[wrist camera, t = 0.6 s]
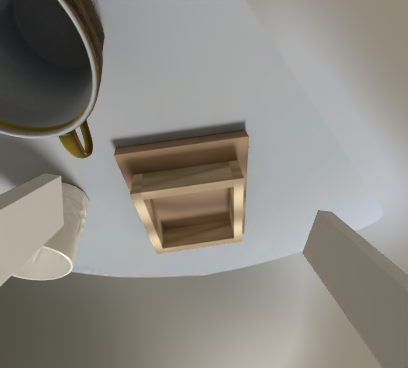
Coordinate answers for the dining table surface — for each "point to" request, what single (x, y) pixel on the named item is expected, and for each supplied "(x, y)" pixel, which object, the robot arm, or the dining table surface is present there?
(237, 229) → the tray
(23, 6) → the ceramic cup
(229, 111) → the dining table surface
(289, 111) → the dining table surface
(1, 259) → the robot arm
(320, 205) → the dining table surface
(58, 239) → the white cup
